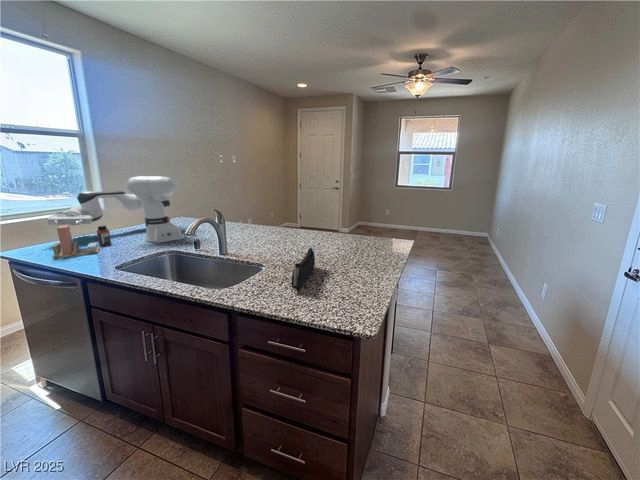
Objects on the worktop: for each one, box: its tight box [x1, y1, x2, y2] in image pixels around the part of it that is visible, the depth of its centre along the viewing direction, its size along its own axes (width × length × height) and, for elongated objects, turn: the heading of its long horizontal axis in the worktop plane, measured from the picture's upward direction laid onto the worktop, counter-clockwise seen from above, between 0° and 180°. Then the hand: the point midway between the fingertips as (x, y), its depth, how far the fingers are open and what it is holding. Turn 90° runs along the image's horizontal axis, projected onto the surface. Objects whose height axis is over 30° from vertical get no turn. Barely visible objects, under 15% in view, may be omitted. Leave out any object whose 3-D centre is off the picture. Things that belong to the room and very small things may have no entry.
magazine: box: [290, 247, 316, 291], centre depth 135 cm, size 17×3×30 cm
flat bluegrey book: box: [86, 241, 99, 252], centre depth 169 cm, size 4×8×3 cm, turn 29°
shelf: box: [52, 242, 100, 259], centre depth 165 cm, size 19×10×6 cm, turn 119°
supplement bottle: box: [96, 224, 112, 247], centre depth 181 cm, size 6×6×11 cm
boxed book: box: [56, 224, 74, 254], centre depth 162 cm, size 4×6×14 cm
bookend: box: [73, 240, 88, 254], centre depth 165 cm, size 5×8×5 cm, turn 29°
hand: (67, 223), depth 174 cm, fingers open, 8 cm apart
